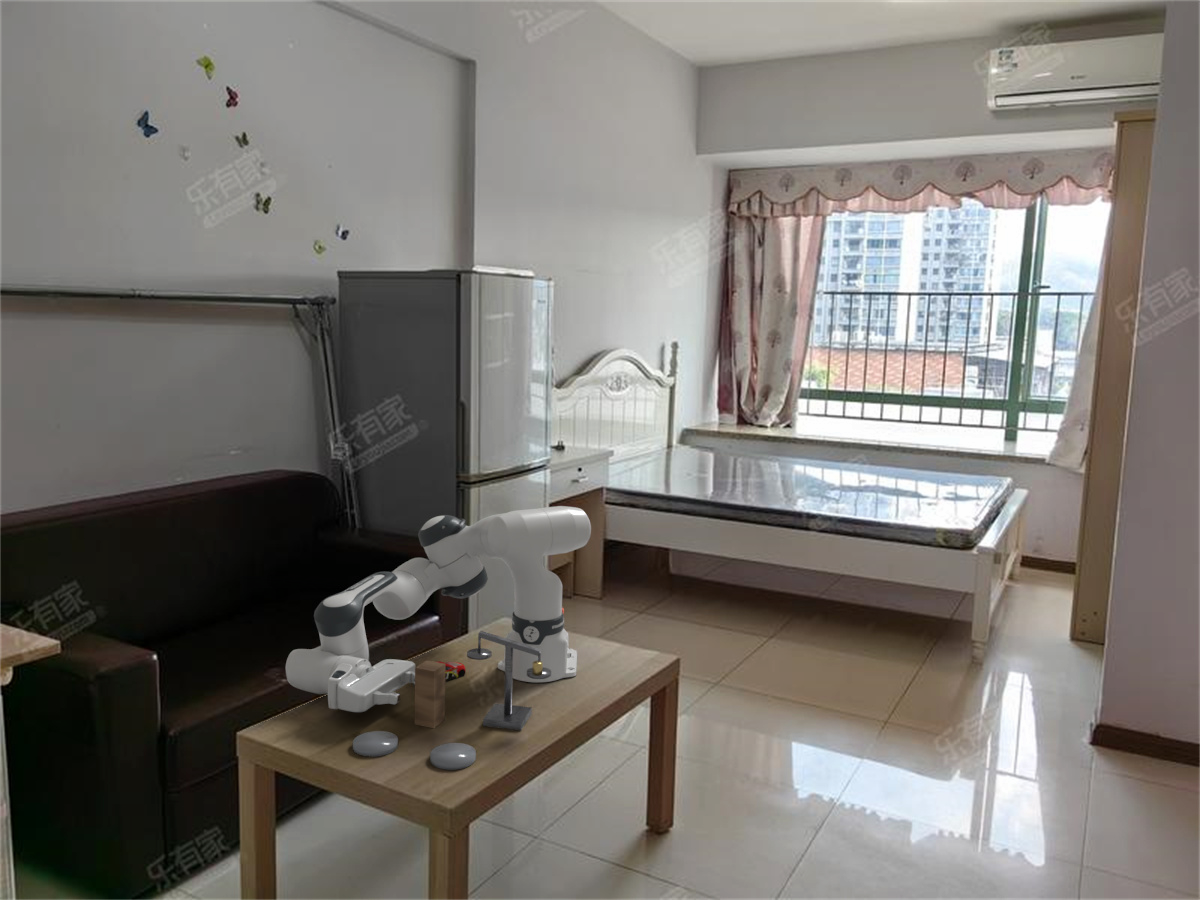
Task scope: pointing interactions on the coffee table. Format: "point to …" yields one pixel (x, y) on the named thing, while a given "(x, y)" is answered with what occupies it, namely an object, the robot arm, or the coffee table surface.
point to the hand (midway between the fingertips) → (410, 690)
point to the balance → (509, 682)
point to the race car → (453, 670)
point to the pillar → (429, 694)
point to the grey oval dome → (375, 743)
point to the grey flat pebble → (453, 756)
